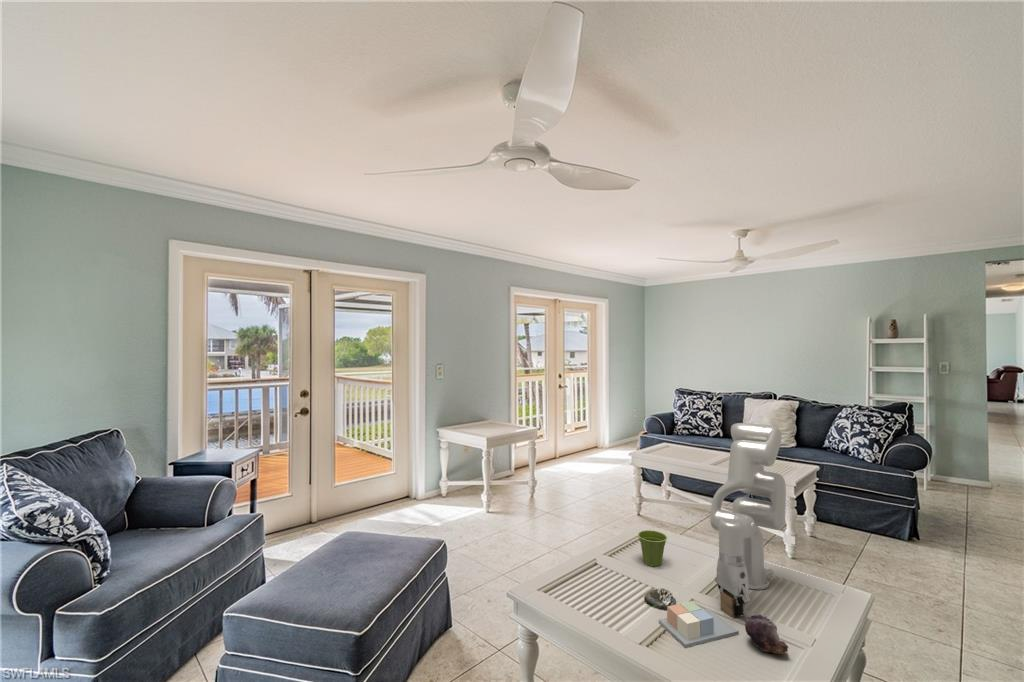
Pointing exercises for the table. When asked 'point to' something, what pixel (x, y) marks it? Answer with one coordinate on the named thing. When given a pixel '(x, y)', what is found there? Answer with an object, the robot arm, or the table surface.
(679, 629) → the cream block
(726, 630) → the assembly board
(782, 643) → the rock
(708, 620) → the blue block
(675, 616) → the terracotta block
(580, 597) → the table surface
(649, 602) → the grey oval shell
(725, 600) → the walnut block
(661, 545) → the plant pot
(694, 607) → the sage block
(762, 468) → the robot arm
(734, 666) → the table surface
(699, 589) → the table surface
